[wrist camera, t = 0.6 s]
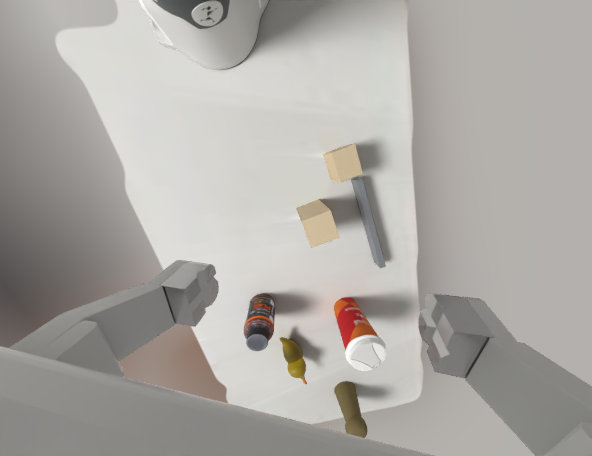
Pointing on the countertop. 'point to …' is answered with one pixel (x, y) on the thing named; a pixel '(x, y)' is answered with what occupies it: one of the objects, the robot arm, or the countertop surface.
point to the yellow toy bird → (294, 358)
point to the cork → (350, 409)
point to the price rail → (368, 221)
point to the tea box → (343, 163)
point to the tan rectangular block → (317, 223)
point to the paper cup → (358, 336)
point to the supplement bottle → (259, 322)
